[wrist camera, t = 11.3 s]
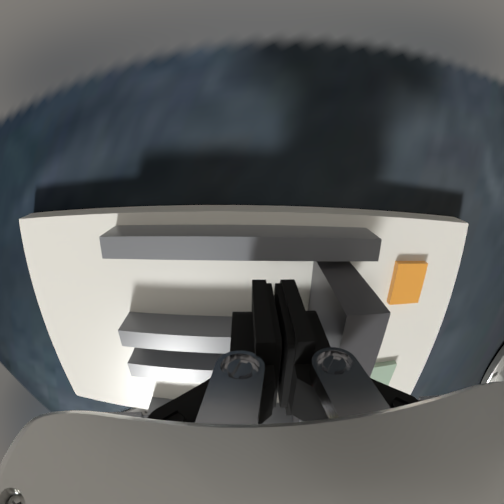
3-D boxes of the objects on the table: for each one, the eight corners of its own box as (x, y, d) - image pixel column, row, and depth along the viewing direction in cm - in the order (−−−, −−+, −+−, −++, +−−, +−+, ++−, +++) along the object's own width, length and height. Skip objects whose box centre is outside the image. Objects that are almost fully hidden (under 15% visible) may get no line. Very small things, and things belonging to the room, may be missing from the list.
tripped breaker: (346, 257, 13) (390, 312, 8) (337, 311, 14) (369, 378, 10) (313, 257, 13) (346, 315, 8) (307, 312, 14) (330, 382, 9)
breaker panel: (454, 216, 14) (487, 232, 11) (401, 386, 19) (416, 414, 16) (33, 212, 14) (-1, 228, 11) (83, 382, 19) (67, 410, 16)
